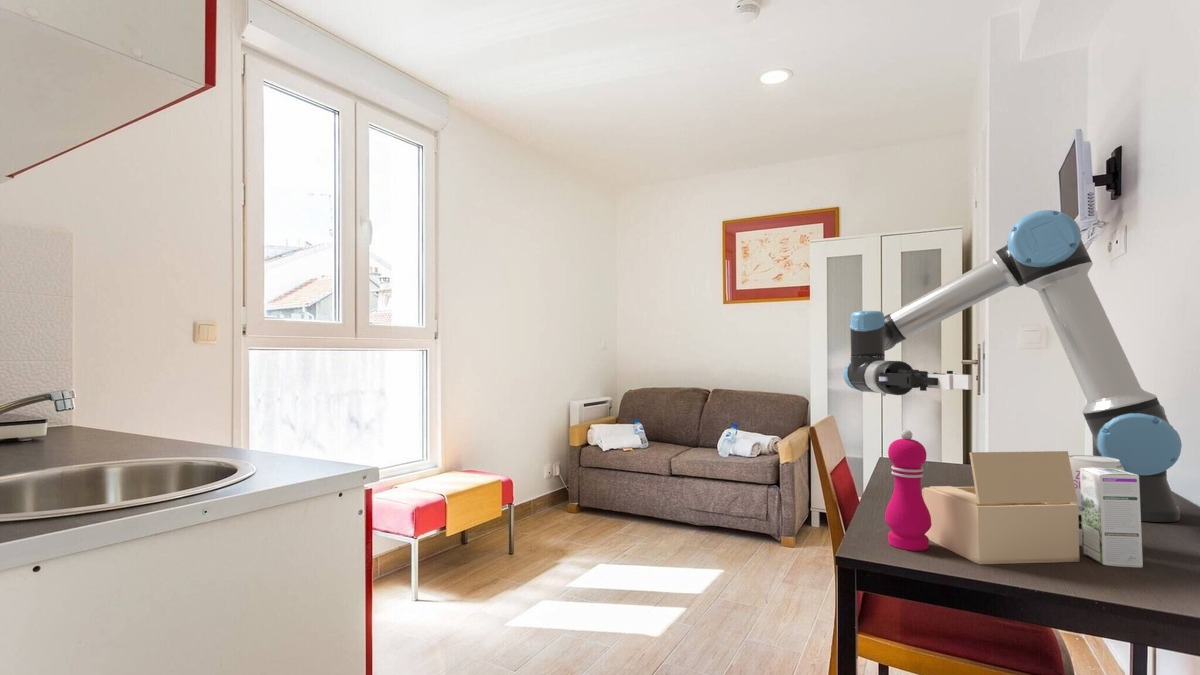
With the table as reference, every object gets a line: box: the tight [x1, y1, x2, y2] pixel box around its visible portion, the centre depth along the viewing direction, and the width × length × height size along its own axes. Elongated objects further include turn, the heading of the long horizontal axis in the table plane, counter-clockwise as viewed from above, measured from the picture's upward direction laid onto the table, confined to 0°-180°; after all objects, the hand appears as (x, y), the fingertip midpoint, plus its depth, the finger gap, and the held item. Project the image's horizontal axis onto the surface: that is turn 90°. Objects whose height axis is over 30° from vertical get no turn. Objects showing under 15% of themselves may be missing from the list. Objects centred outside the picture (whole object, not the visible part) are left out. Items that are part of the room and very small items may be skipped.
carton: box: [921, 485, 1080, 565], centre depth 103 cm, size 17×15×9 cm
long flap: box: [969, 450, 1078, 504], centre depth 97 cm, size 17×1×8 cm, turn 94°
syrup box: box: [1080, 467, 1144, 569], centre depth 97 cm, size 6×6×14 cm
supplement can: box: [1069, 454, 1125, 548], centre depth 105 cm, size 8×8×15 cm
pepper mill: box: [884, 429, 932, 552], centre depth 105 cm, size 7×7×20 cm
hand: (960, 382), depth 112 cm, fingers open, 3 cm apart
